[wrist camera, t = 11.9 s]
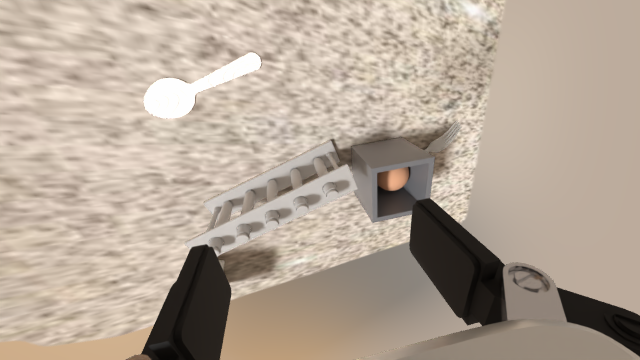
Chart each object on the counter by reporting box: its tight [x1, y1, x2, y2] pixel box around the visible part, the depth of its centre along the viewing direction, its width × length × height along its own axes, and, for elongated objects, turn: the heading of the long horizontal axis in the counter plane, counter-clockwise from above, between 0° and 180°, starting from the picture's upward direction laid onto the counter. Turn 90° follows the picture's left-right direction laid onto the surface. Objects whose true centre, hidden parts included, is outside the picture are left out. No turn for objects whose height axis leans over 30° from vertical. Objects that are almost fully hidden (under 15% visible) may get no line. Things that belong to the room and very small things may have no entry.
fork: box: [424, 120, 461, 153], centre depth 45 cm, size 3×21×3 cm, turn 128°
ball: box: [377, 167, 409, 191], centre depth 41 cm, size 6×6×6 cm
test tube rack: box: [184, 140, 358, 257], centre depth 37 cm, size 25×4×13 cm, turn 114°
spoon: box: [143, 52, 261, 119], centre depth 34 cm, size 5×18×1 cm, turn 112°
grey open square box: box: [351, 137, 435, 223], centre depth 40 cm, size 10×10×10 cm
